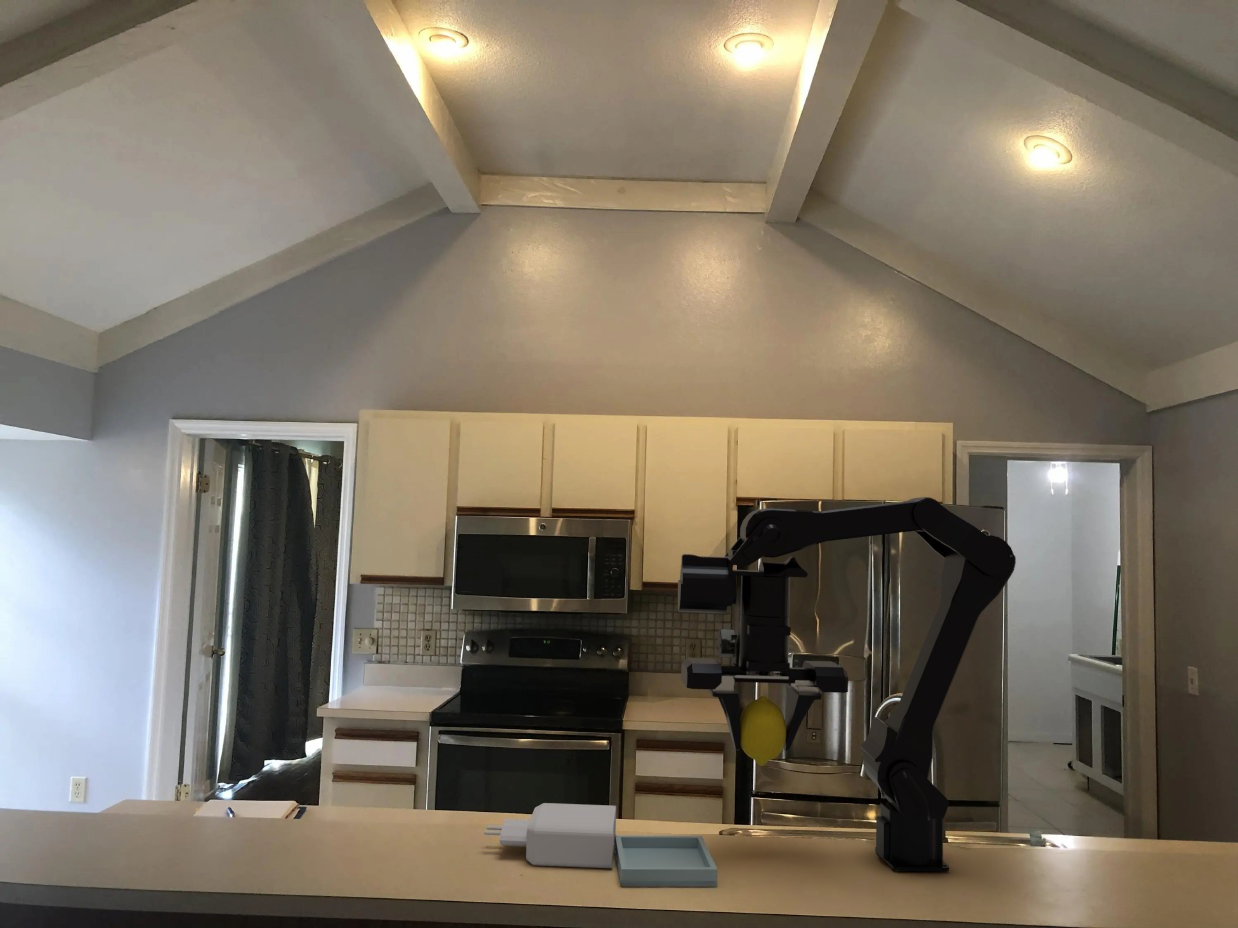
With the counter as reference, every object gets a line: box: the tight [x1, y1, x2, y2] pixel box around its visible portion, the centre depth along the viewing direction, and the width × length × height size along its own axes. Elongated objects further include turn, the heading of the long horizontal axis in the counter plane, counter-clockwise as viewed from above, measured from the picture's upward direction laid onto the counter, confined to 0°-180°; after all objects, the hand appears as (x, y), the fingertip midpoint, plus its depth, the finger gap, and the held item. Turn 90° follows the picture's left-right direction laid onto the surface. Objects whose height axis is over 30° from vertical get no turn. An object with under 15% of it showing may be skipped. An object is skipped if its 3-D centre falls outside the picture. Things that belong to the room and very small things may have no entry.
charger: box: [483, 802, 617, 870], centre depth 103 cm, size 5×9×15 cm
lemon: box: [739, 695, 786, 767], centre depth 104 cm, size 6×6×8 cm
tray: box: [614, 834, 718, 888], centre depth 99 cm, size 10×10×2 cm
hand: (761, 749), depth 104 cm, fingers closed on lemon, 5 cm apart
